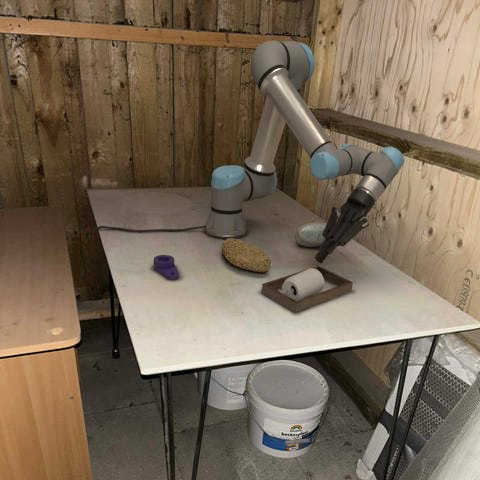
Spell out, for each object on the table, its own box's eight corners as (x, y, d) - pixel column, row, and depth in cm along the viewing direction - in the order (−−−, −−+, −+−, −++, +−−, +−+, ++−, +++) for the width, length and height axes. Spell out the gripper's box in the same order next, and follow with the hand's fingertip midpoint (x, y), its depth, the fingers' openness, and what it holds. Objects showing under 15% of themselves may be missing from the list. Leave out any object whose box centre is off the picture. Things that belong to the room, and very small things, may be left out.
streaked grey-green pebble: (327, 229, 179) (329, 211, 170) (336, 249, 174) (339, 231, 166) (292, 238, 178) (293, 220, 169) (300, 258, 173) (301, 240, 165)
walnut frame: (295, 313, 130) (296, 303, 129) (261, 292, 139) (262, 283, 138) (351, 291, 144) (353, 282, 142) (317, 274, 153) (318, 265, 151)
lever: (151, 265, 150) (150, 256, 149) (169, 262, 153) (169, 253, 151) (165, 281, 141) (165, 272, 140) (184, 278, 144) (184, 268, 143)
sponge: (216, 258, 161) (232, 271, 143) (220, 235, 159) (237, 245, 141) (252, 262, 166) (272, 276, 148) (257, 240, 164) (277, 251, 146)
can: (329, 290, 138) (303, 302, 130) (309, 293, 144) (284, 305, 136) (321, 265, 137) (295, 276, 129) (302, 269, 143) (276, 280, 135)
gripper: (387, 209, 137) (339, 275, 137) (351, 197, 146) (306, 259, 145) (379, 193, 132) (330, 262, 131) (343, 182, 140) (296, 246, 139)
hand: (317, 260), depth 138 cm, fingers closed
